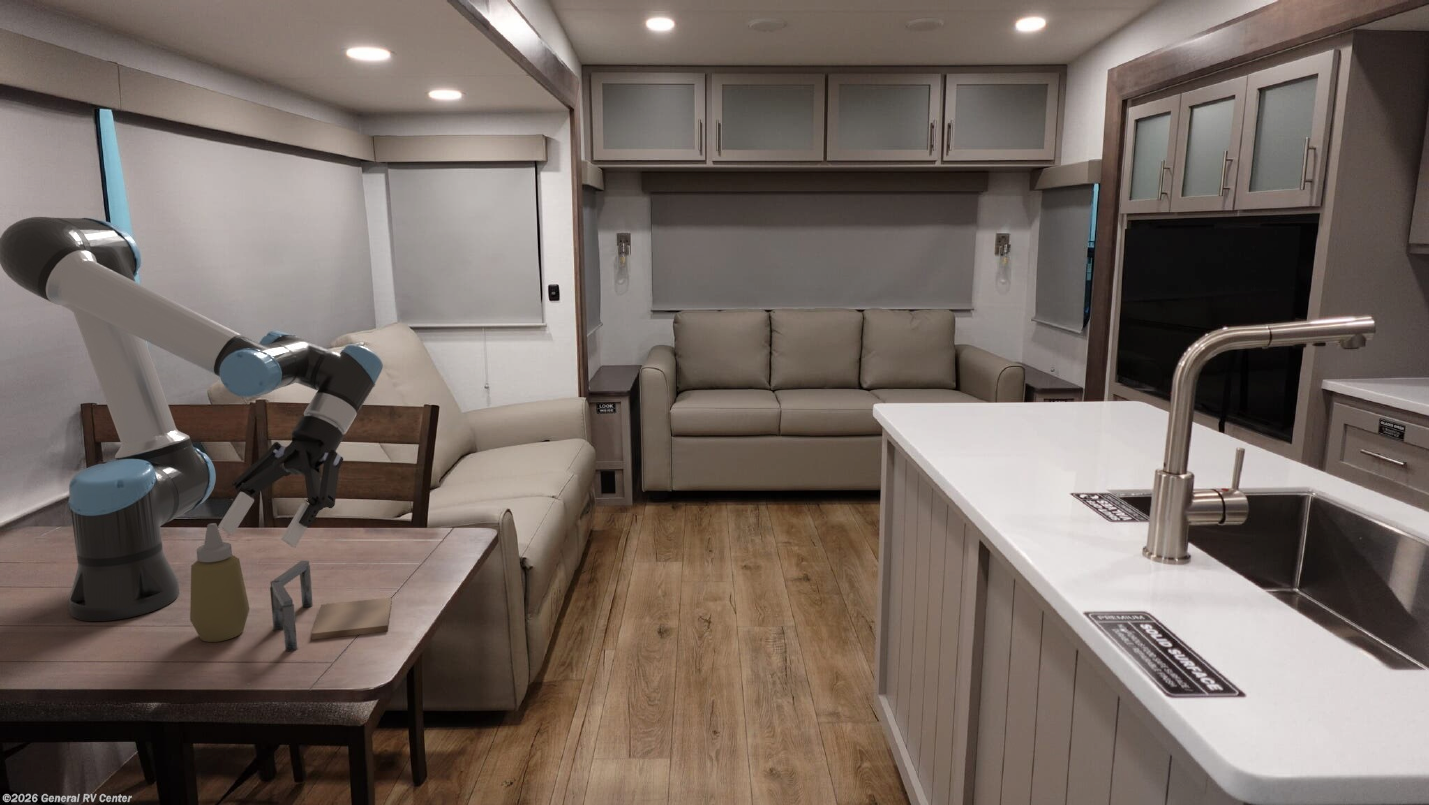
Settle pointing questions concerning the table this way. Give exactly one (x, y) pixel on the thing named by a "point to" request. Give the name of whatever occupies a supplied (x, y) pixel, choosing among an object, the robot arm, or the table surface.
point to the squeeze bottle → (217, 590)
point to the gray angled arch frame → (289, 601)
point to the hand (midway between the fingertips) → (256, 537)
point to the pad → (352, 618)
